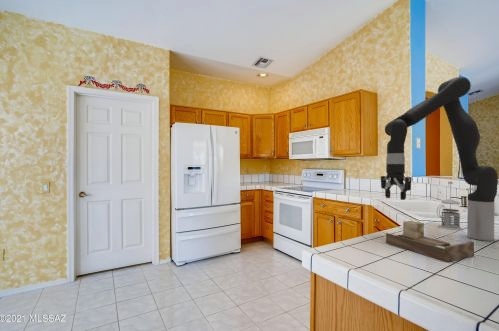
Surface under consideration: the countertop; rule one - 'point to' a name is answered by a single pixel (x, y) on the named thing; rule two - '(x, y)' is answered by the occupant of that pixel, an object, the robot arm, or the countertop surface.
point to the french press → (447, 220)
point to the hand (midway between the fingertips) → (395, 198)
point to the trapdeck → (432, 247)
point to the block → (413, 229)
